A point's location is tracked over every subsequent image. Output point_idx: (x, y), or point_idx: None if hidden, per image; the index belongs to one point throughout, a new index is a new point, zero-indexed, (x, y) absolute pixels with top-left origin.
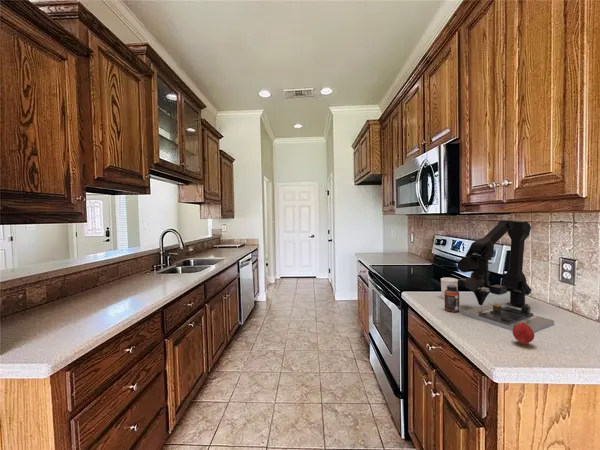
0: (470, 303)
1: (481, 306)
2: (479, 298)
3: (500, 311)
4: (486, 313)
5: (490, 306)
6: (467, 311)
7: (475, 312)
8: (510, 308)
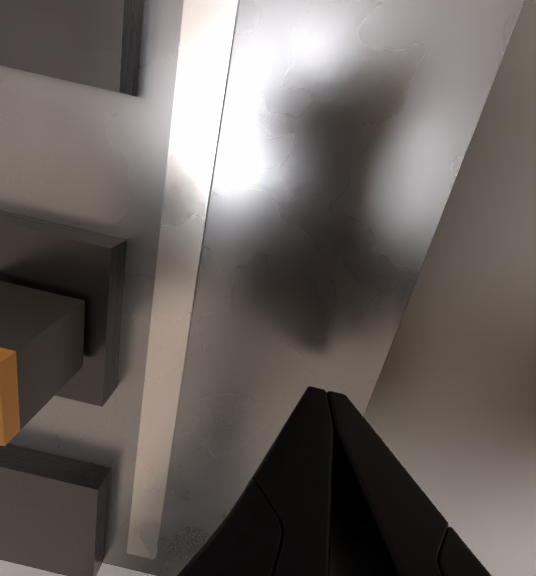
0: (511, 562)
1: None
2: (350, 514)
3: None
4: (69, 12)
5: None
6: None
7: (311, 41)
8: (15, 534)
